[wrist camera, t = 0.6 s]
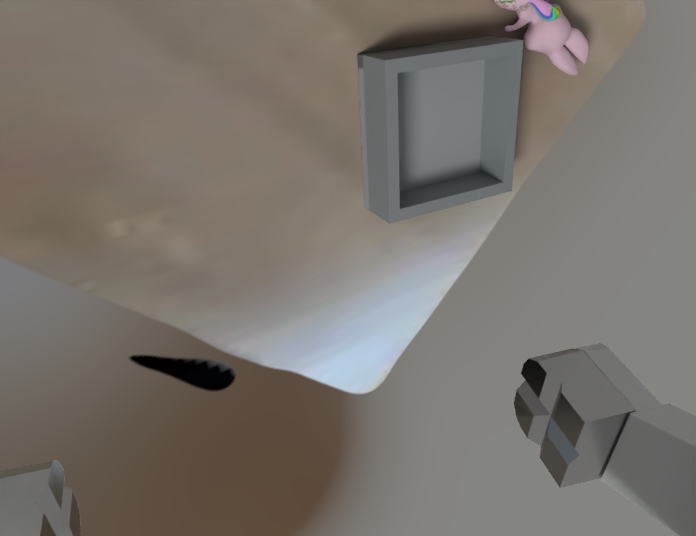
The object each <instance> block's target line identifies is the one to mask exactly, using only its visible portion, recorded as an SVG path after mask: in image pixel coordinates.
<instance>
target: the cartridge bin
mask: <svg viewBox="0 0 696 536" xmlns="http://www.w3.org/2000/svg"><path fill="white" fill-rule="evenodd" d="M523 41H524V40H519V39H511V38H503V37H495V36H484V37H477V38H470V39H462V40H455V41H448V42H441V43H434V44H426V45H419V46H412V47H405V48H397V49H390V50H383V51H376V52H369V53H361V54H357V55H358V76H359V97H360V118H361V139H362V160H363V181H364V202H365V208H367V209H368V210H370V211H371V212H373V213H374V214H376V215H377V216H379V217H380V218H382V219H383V220H385V221H386V222H388V223H393V222H397V221H400V220H404V219H408V218H412V217H415V216H419V215H423V214H427V213H430V212H434V211H438V210H442V209H445V208H449V207H453V206H457V205H460V204H464V203H468V202H471V201H475V200H479V199H483V198H486V197H490V196H494V195H498V194H501V193H505V192H509V191H512V181H513V168H514V155H515V143H516V130H517V117H518V105H519V92H520V79H521V67H522V54H523Z"/></svg>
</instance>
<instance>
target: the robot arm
mask: <svg viewBox="0 0 696 536" xmlns="http://www.w3.org/2000/svg"><path fill="white" fill-rule="evenodd" d="M521 374H522V376H523V377H524V378H525V381H524V383H523V384H522V385H521V386H520V387H519V388H518V389H517V391H516V395H515V400H514V406H515V412H516V417H517V420H518V422H519V424H520V427H521V429H522V430H523V432H524V433H525V435H526V437H527V438H528V439H530V440H532V441H534V442H535V443H537V444H538V445H540V446H541V453H540V458H541V460H542V461H543V463H544V464H545V466H546V467H547V469H548V470H549V472H550V474H551V475H552V476H553V478H554V480H555V481H556V482H557V484H558V486H559V487H560V488H561V487H564V486H569V485H573V484H577V483H581V482H585V481H590V480H593V479H597V478H601V481H602V482H604V483H605V484H607V485H608V486H610V487H611V488H612V489H614V490H615V491H617V492H618V493H620V494H621V495H622V496H624V497H625V498H627V499H628V500H629V501H631V502H632V503H634V504H635V505H637V506H638V507H639V508H641V509H642V510H644V511H645V512H647V513H648V514H649V515H651V516H652V517H654V518H655V519H657V520H658V521H659V522H661V523H662V524H664V525H665V526H667V527H668V528H669V529H671V530H672V531H674V532H675V533H677V534H678V535H679V536H696V416H694V415H692V414H690V413H688V412H686V411H683V410H681V409H679V408H677V407H675V406H673V405H671V404H665V405H661V404H660V402H659V401H658V400H657V399H656V398H655V397H654V396H653V395H652V394H651V393H650V392H649V391H648V390H647V389H646V388H645V387H644V385H643V384H642V383H641V382H640V381H639V380H638V379H637V378H636V377H635V376H634V375H633V374H632V373H631V371H630V370H629V369H628V368H627V367H626V366H625V365H624V364H623V363H622V362H621V361H620V360H619V359H618V357H617V356H616V355H615V354H614V353H613V352H612V351H611V350H610V349H609V348H608V347H607V346H605V345H603V344H601V343H599V344H594V345H590V346H585V347H580V348H576V349H569V350H564V351H560V352H555V353H551V354H547V355H542V356H538V357H534V358H530V359H528V360H527V361H526V362H525V363H524V364H523V368H522V371H521ZM64 476H65V472H64V470H63V469H62V467H61V465H60V463H59V461H50V462H45V463H39V464H34V465H29V466H24V467H18V468H13V469H7V470H2V471H0V536H81V525H80V512H79V507H78V503H77V499H76V497H75V495H74V492H73V490H71V489H69V488H67V487H64Z"/></svg>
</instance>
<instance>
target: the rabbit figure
mask: <svg viewBox="0 0 696 536" xmlns="http://www.w3.org/2000/svg"><path fill="white" fill-rule="evenodd" d="M493 1H494V3H495V4H496V5H498V6H499V7H501V8H504V9H508V10H515V11H516V12H517V15H518V17H519V20H518V21H517V23H515V24H514V25H508V26H506V27H505V31H506V32H509V31H514V30H517V29H519V28H521V27H522V26H524V25H525V24H527V23H528V26H527V30H526V32H525V35H524V43H525V46H526V48H527V49H529V50H533V51H538V52H542V53H545V54H546V55H548V57H549V59H550V60H551V62H552V63H553V64H554V65H555V66H556V67H557V68H559V69H561V70H562V71H564V72H565V73H567V74H570V75H577V74H578V69H577V66H576V62H575V60H574V59H573V57H572V56H571V55H570V53H569V52H568V51H567V49H565V48H564V46H563V45H565V46H566V47H567V48H568V49H569V50H570V51H571V52H572V53H573V54H574V55H575V56H576V57H577V58H578V59H579V60H581V61H582V62H583V63H586V61H587V58H588V52H589V46H588V42H587V40H586V38H585V36H584V35H583V33H582V32H581V31H580V30H579V29H577V28H573V27H571V25H570V23H569V21H568V19H567V18H566V17H565V16H564V14H563V12H562V10H561V7H560V6H559V5H558V4H551V3H549V2H547V1H545V0H493Z"/></svg>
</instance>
